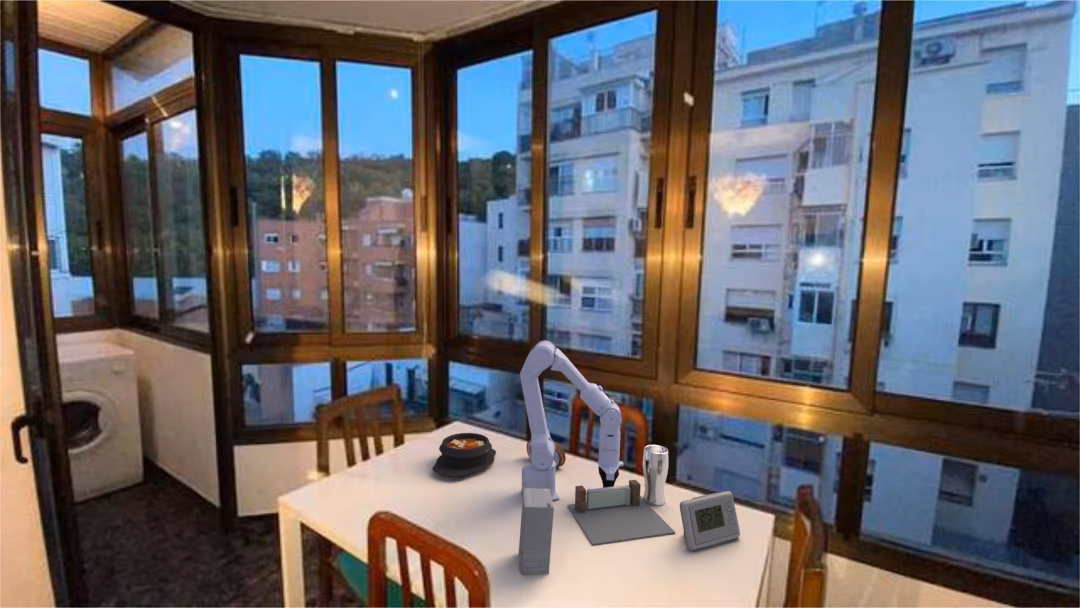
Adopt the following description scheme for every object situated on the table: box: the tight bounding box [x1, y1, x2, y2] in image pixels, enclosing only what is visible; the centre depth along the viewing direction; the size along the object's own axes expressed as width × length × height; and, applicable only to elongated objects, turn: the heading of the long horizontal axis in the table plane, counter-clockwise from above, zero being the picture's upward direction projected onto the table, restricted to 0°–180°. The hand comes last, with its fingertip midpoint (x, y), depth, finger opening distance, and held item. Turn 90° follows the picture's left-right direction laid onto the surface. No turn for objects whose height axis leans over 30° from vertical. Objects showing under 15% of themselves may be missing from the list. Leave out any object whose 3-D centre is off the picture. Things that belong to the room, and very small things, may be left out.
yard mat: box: [566, 495, 676, 547], centre depth 128 cm, size 22×19×1 cm
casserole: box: [432, 432, 497, 478], centre depth 159 cm, size 25×19×8 cm
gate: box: [586, 484, 631, 509], centre depth 134 cm, size 12×2×5 cm, turn 105°
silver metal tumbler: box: [642, 444, 669, 507], centre depth 138 cm, size 7×7×15 cm
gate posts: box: [574, 479, 642, 513], centre depth 134 cm, size 18×3×6 cm, turn 105°
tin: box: [526, 438, 567, 470], centre depth 161 cm, size 15×3×8 cm, turn 49°
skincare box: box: [518, 488, 555, 575], centre depth 108 cm, size 8×7×16 cm
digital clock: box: [679, 490, 741, 551], centre depth 120 cm, size 16×9×11 cm, turn 102°
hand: (607, 493), depth 139 cm, fingers closed
